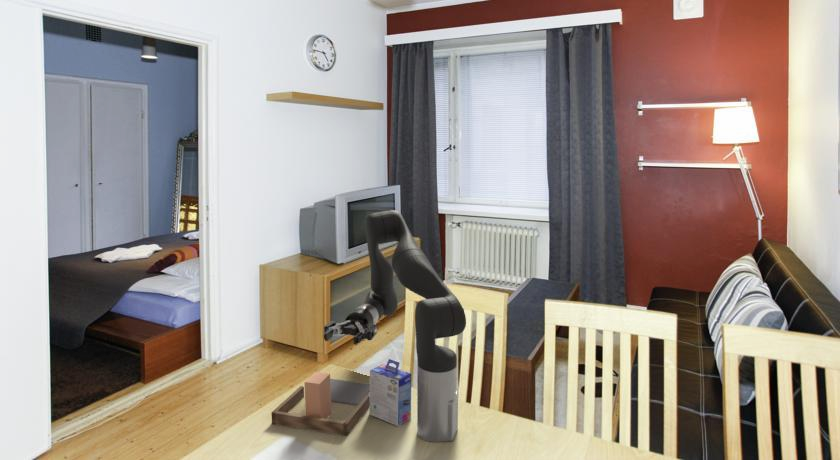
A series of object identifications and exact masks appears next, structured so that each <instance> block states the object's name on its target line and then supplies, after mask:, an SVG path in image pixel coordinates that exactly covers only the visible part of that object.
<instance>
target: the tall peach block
mask: <svg viewBox="0 0 840 460" xmlns="http://www.w3.org/2000/svg"><path fill="white" fill-rule="evenodd" d="M330 379H331V373H329V372H327V373H326V372H320V371H315V372H314V373H313V374H311V376H309V377H308V378H307V379H306V380H305V381H304V404H305V405H304V406H305V407H304V408H305V416H312V417H318V418H325V419H329V417H330V416H331V415H332V402H331V389H330Z"/></svg>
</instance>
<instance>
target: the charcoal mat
mask: <svg viewBox="0 0 840 460" xmlns="http://www.w3.org/2000/svg"><path fill="white" fill-rule="evenodd" d="M330 389H331V403H338V404H344V405H352V406H356V407H357V406H358V404H359V403H360V402H361V401H362V399H363V398H364V397H365V396H366V395H368V394H370V383H366V382H357V381H350V380H343V379H336V378H330Z"/></svg>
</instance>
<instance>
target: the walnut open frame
mask: <svg viewBox="0 0 840 460" xmlns="http://www.w3.org/2000/svg"><path fill="white" fill-rule="evenodd" d="M302 399H305V385H304V386H303V385H300V386H299V387H298V388H296V389H295V391H293V392H292V393H291V394H290V395H289V396H288V397H287V398H286V399H285V400H283V401H282V403H280V404H279V405H278V406H276V408H275V409H273V410H272V411H271V413H270V414H271V424H272V425H277V426H282V427H283V426H284V427H289V428H290V427H291V428H295V429H296V428H297V429H303V430H308V431H315V432H320V433H327V434H332V435H340V436H345V437H347V436H348V435H349V434H350V433H351V431H352V430H353V429H354V428H355V426H356V425H357V424H358V422H359V421H360V420H361V418H362V417H363V416H364V415H365V414H366V412H367V411H368V409H370V395H368V394H367V395H366V396H365V397H364V398H363V399H362V401H361V402H360V403H359V404H358V406H357V405H356V407H355V408H354V409H353V411H352V412H351V413H350V414H349V415H348V417H347V418H346V419H345V420H344V421H342V420H338V419H337V420H336V419H330V418H327V419H325V418H318V417H312V416H306V414H305V415H304V414H298V413H293V412H291V413H290V411H291V410H292V409H293V408H295V406H296V405H298V404H299V402H301V400H302Z"/></svg>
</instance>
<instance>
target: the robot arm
mask: <svg viewBox="0 0 840 460" xmlns="http://www.w3.org/2000/svg"><path fill="white" fill-rule="evenodd" d="M364 225H365V226H364V227H365V235H366V237H365V238H366V245H367V252H368V257H369V258H368V259H369V264H370V289H371V290H370V291H369V292H368V293H367V295H366V296H365V301H364V302H363V303H362V304H360V305H359V306H357V307H356V308H355V309H354V310H353V311H351V312H350V313H349V314H348V315H347V316H346V317H345V320H344V321H341V322H337V320H336V319H332V320H331V321H329V322H328V323H326V324H325V325H324V326H323V340H324V341H325V342H328V341H330V340H331V339H333V337H335V336H337V337H343V336H353V345H355V346H357V345H358V344H360V343H362V341H365V340H367V341H372V340H373V339H374V338H375V336H376V335H377V332H378V331H377V330H378V327H377V323H378V322H379V321H380V320H381V319H382V317H383V316H385V317H391V316H393V315H394V314H395V313H396V311H397V309H398V306H399V305H398V297H397V293H396V291H395V288H394V274H395V276H396V278H397V279H398V281H399V282H400V283H401V285H402V286H403V287H404V288H406V289H407V290H409V291H410V292H412V293H414V294H416V295H418V296H420V297H422V298H423V299H420V300H419V301H418V302H417V303H416V306H415V310H414V324H415V325H414V326H415V346H416V347H415V350H416V357H417V372H416V373H417V382H416V383H417V387H416V388H417V393H416V394H417V395H416V396H417V398H416V399H417V401H416V404H417V406H416V407H417V408H416V409H417V410H416V411H417V413H416V414H417V419H416V421H417V422H416V427H417V435H418V436H419V437H420V438H421V439H422V440H425V441H428V442H432V443H440V442H442V443H443V442H446V441H447V442H449V441H450V442H453V441H454V439H455V436H456V433H457V431H458V424H459V392H458V391H457V367H458V366H457V363H458V361H457V360H458V358H457V353H456V352H455V351H454V350H453V349H451V348H449V347H446V346H444V345H443V346H442V345H438V344H436V340H437V339H444V338H450V337H455V336H458V335H461V334H462V333H463V332H464V330H465V329H466V326H467V317H466V314H465V311H464V310H465V309H464V308H463V305H462V303H461V302H460V300H459V299H458V298H457V296H455V294H454V293H453V292H452V291H451V289H450V288H449V287H448V286H447V285H446V284H445V283H444V281H443V280H442V279H441V277H440V276H439V275H438V273H437V272H436V270H435V269H434V268H433V266H432V264H431V263H430V261H429V259H428V257H427V256H426V254H425V253H424V252H423V250H422V249H421V247H420V246H419V244H418V243H417V241H416V240H415V238H414V236H413V234H412V232H411V231H410V229H409V227H408V225H407V223H406V220H405V218H404V217H403V215H402V213H401V212H400V211H398V210H394V209H390V210H384V211H377V212H373V213H369V214H368V215H367V216H366V218H365V224H364ZM393 242H398V243H397V245H396V247H395V249H394V250H393V253H392V257H391V262H390V261H389V260H388V259H387V258H386V256H385V255H384V254H383V253H382V251H381V249H380V248H379V246H380V245H382V244H388V243H393ZM334 331H335V332H334Z"/></svg>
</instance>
